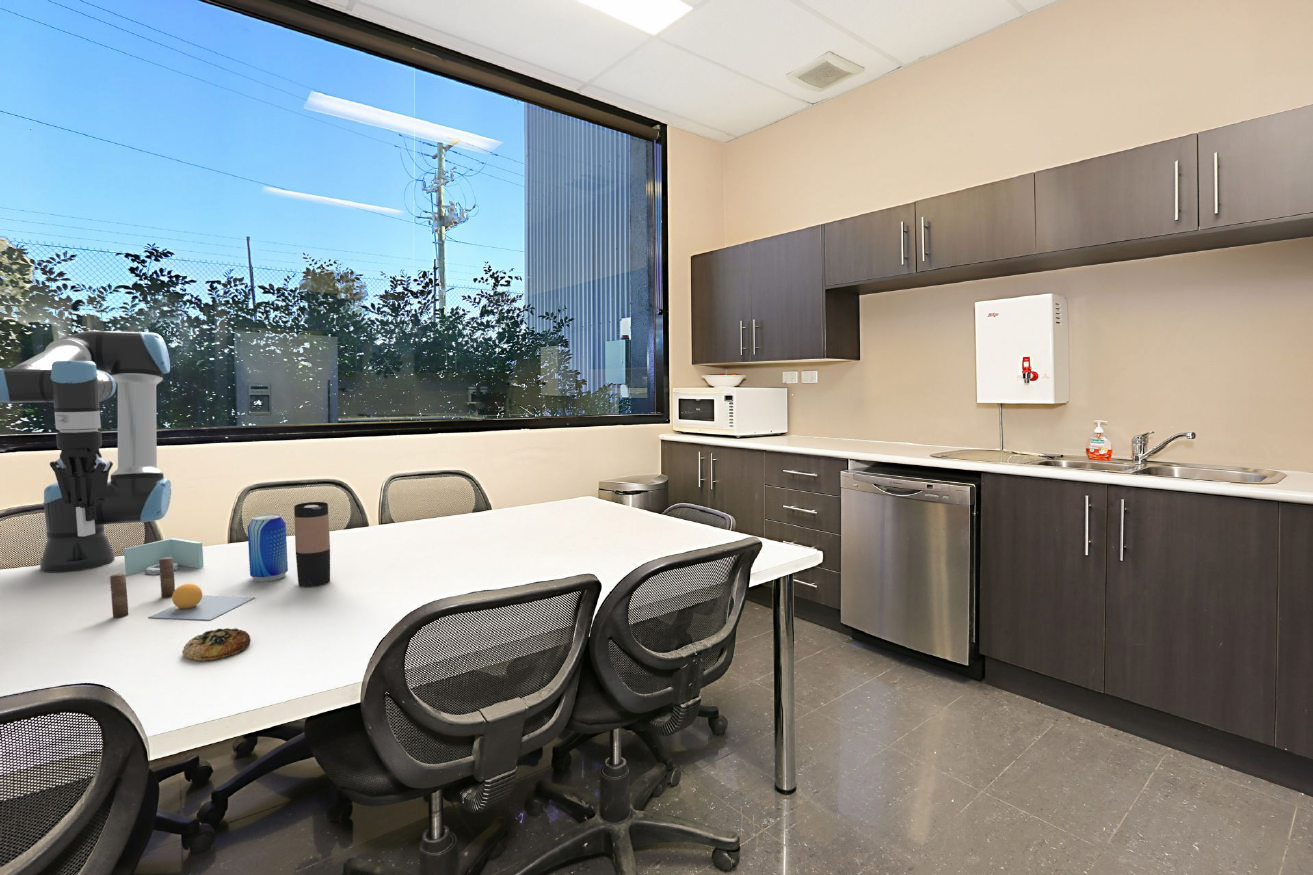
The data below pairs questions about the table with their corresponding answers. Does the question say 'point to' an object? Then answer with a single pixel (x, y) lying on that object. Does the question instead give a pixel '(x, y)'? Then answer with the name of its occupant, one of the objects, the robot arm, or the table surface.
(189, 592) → the ball
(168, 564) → the post
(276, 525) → the beer can
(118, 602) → the post
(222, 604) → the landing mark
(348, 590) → the table surface
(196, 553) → the l-shaped corner panel
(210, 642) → the bread roll
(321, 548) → the travel mug
